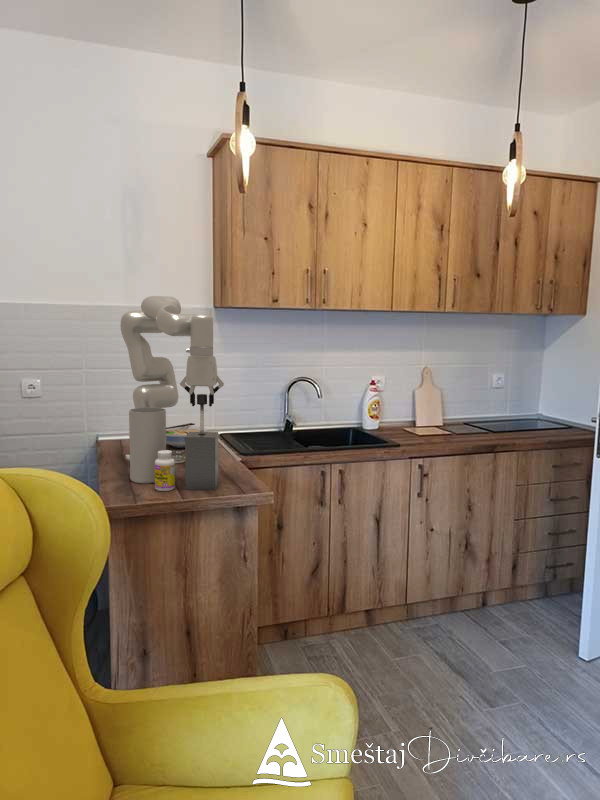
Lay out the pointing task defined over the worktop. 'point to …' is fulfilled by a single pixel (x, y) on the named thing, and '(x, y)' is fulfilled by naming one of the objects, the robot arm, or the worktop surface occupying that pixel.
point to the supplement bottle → (164, 471)
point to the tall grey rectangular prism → (201, 461)
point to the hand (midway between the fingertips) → (202, 405)
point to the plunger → (201, 410)
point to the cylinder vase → (146, 442)
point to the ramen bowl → (180, 434)
